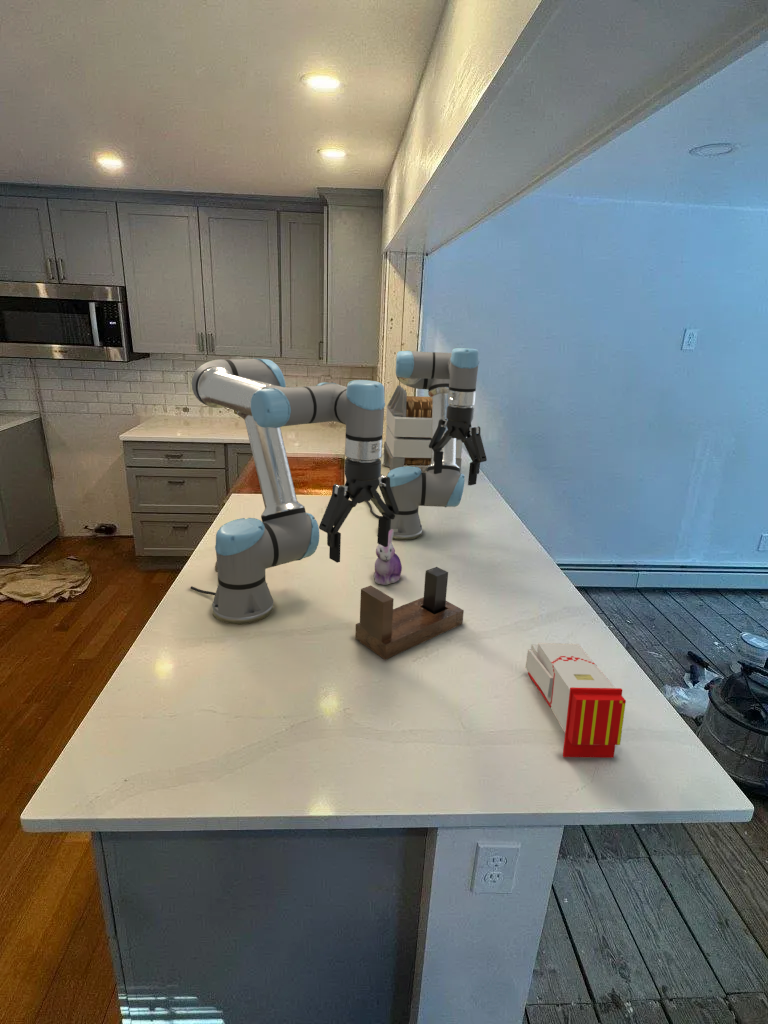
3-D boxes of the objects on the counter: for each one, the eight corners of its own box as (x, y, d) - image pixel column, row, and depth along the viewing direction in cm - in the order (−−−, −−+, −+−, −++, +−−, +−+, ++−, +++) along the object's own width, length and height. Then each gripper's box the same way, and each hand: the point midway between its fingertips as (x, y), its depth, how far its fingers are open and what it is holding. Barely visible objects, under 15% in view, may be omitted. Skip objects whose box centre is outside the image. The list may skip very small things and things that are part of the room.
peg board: (355, 638, 136) (356, 586, 131) (431, 606, 152) (435, 559, 147) (385, 660, 128) (387, 605, 123) (462, 624, 144) (467, 574, 139)
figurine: (380, 588, 160) (382, 539, 155) (365, 573, 168) (366, 527, 163) (409, 582, 164) (412, 535, 159) (392, 568, 173) (395, 522, 167)
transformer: (382, 463, 289) (386, 382, 275) (445, 464, 293) (451, 384, 279) (390, 482, 257) (394, 392, 243) (460, 483, 261) (468, 394, 247)
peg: (421, 620, 145) (425, 570, 140) (432, 615, 148) (436, 566, 143) (432, 626, 142) (437, 576, 138) (443, 621, 145) (448, 572, 140)
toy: (573, 626, 127) (635, 696, 97) (567, 680, 129) (626, 765, 100) (519, 624, 126) (566, 695, 97) (515, 680, 129) (558, 764, 100)
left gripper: (325, 471, 106) (323, 573, 113) (418, 454, 122) (411, 544, 129) (302, 462, 111) (302, 560, 118) (394, 446, 127) (389, 533, 134)
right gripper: (420, 400, 165) (415, 470, 172) (486, 414, 147) (478, 491, 154) (438, 398, 169) (432, 467, 177) (504, 411, 152) (496, 487, 159)
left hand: (359, 552), depth 124 cm, fingers open, 13 cm apart
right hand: (454, 478), depth 166 cm, fingers open, 13 cm apart
